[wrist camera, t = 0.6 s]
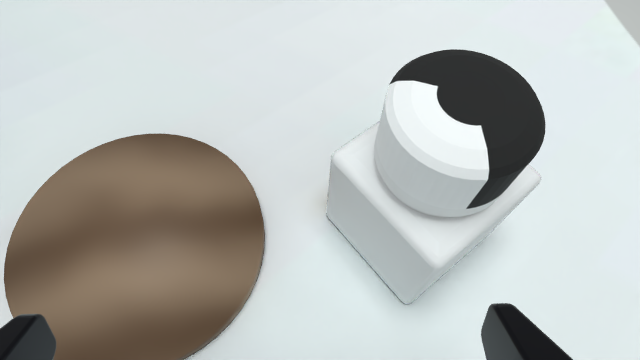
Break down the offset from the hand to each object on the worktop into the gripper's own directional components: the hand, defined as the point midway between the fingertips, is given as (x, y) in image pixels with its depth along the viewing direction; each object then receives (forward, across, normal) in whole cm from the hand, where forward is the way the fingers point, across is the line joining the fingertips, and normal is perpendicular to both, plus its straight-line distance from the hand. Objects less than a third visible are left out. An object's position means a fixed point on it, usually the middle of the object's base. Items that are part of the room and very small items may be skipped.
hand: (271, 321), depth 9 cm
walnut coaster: (+14, +9, +10) cm, 19 cm away
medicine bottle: (+15, -7, +10) cm, 19 cm away
